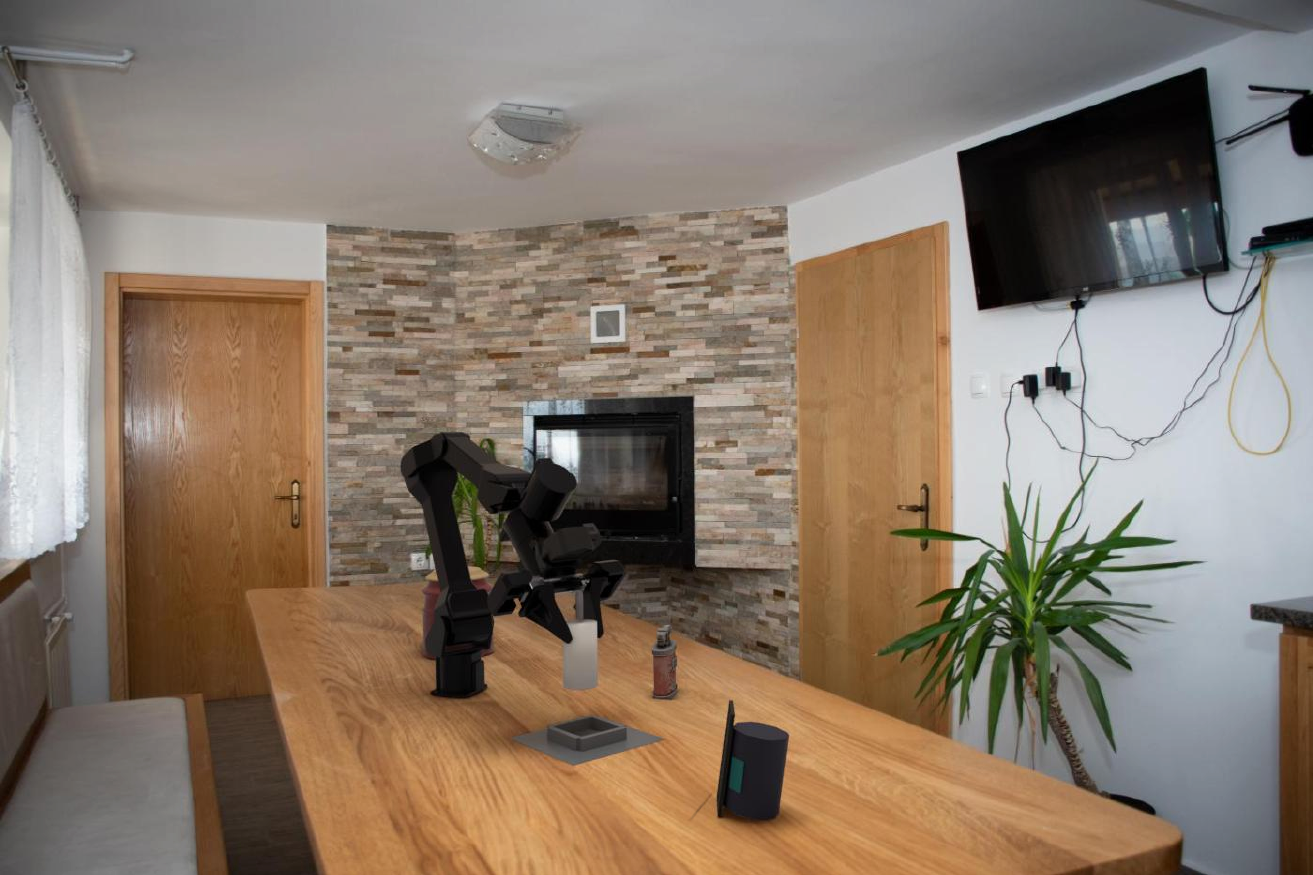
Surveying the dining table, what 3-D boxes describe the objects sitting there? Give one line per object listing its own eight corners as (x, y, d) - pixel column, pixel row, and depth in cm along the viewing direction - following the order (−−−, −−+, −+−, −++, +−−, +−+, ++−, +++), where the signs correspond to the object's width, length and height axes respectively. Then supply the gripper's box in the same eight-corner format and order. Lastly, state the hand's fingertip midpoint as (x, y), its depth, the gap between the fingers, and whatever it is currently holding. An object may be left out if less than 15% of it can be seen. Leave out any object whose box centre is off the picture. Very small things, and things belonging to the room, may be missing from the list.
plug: (557, 688, 117) (555, 592, 117) (572, 680, 121) (570, 587, 121) (589, 691, 116) (587, 593, 116) (603, 682, 120) (601, 588, 120)
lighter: (671, 702, 135) (670, 633, 135) (648, 701, 136) (647, 632, 136) (681, 688, 143) (679, 622, 143) (659, 687, 144) (658, 622, 144)
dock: (509, 741, 118) (509, 726, 118) (598, 719, 127) (598, 704, 127) (573, 769, 108) (572, 752, 108) (665, 743, 117) (665, 727, 117)
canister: (509, 649, 173) (507, 554, 173) (459, 664, 162) (457, 562, 162) (458, 643, 180) (456, 551, 180) (406, 656, 169) (405, 558, 169)
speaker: (697, 814, 93) (707, 710, 93) (716, 797, 98) (726, 698, 99) (771, 833, 90) (781, 725, 90) (787, 814, 95) (796, 712, 96)
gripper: (497, 508, 116) (548, 608, 107) (616, 500, 128) (671, 590, 119) (467, 566, 122) (513, 665, 113) (583, 553, 134) (633, 642, 125)
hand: (586, 639), depth 117 cm, fingers closed on plug, 4 cm apart
